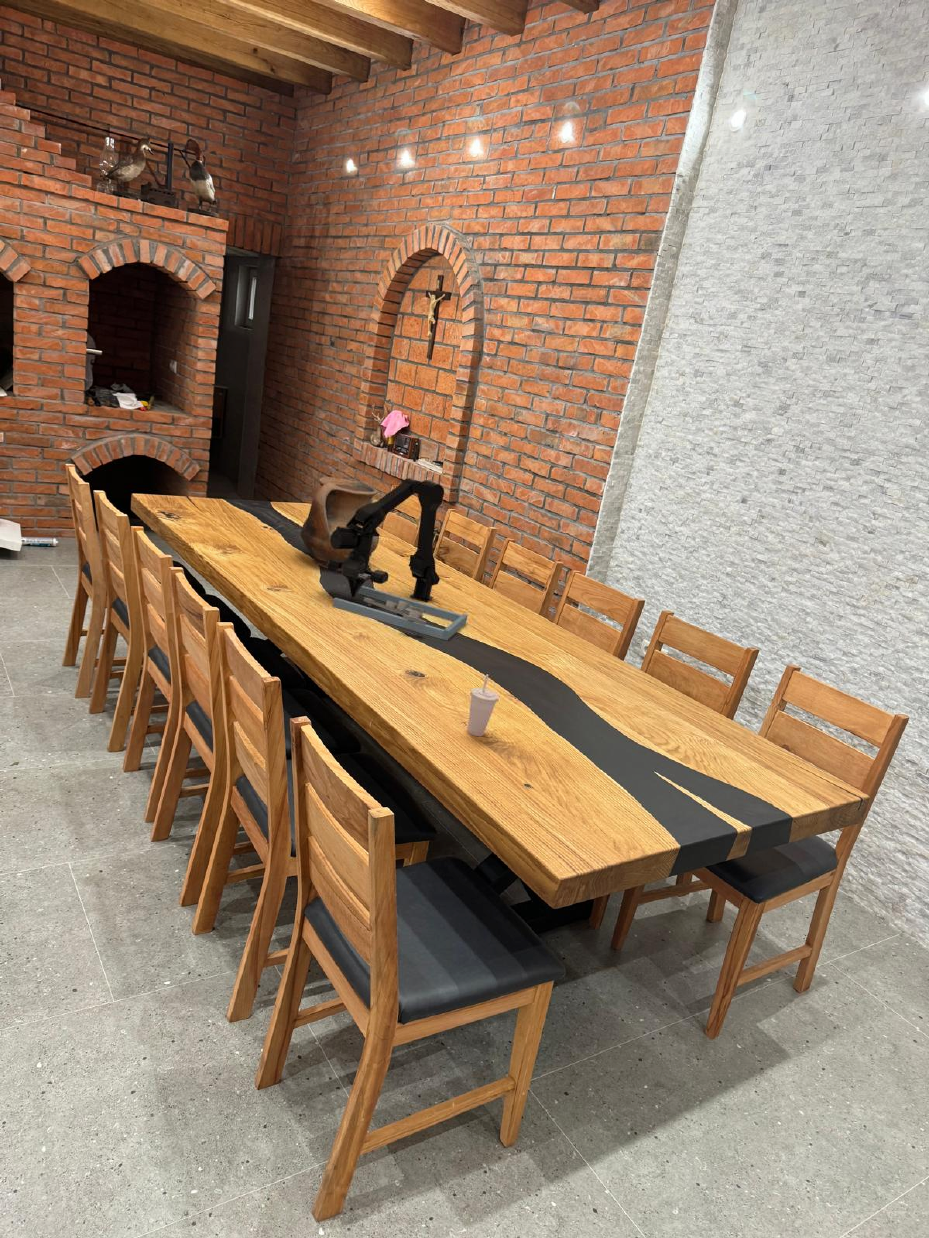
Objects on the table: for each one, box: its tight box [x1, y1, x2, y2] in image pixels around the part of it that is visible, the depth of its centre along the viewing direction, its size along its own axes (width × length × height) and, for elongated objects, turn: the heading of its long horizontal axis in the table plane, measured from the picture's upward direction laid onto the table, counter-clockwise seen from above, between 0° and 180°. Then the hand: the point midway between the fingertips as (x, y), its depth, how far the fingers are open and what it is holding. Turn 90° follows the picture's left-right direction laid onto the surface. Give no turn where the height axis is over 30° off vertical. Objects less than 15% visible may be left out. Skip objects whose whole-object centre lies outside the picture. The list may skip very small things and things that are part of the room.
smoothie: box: [467, 673, 500, 737], centre depth 183 cm, size 6×6×14 cm
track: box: [332, 585, 469, 642], centre depth 254 cm, size 21×37×3 cm, turn 74°
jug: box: [300, 476, 380, 572], centre depth 290 cm, size 32×28×30 cm
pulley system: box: [362, 596, 427, 625], centre depth 248 cm, size 27×5×15 cm
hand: (353, 596), depth 257 cm, fingers closed
